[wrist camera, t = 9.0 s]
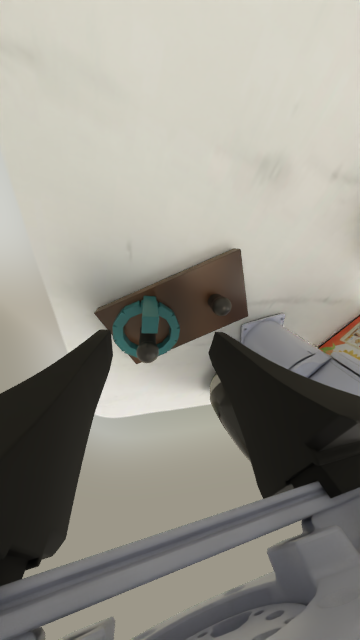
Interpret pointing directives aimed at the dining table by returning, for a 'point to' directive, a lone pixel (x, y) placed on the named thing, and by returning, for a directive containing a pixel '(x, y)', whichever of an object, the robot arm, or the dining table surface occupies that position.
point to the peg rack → (186, 303)
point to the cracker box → (345, 341)
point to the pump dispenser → (226, 413)
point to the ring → (146, 324)
